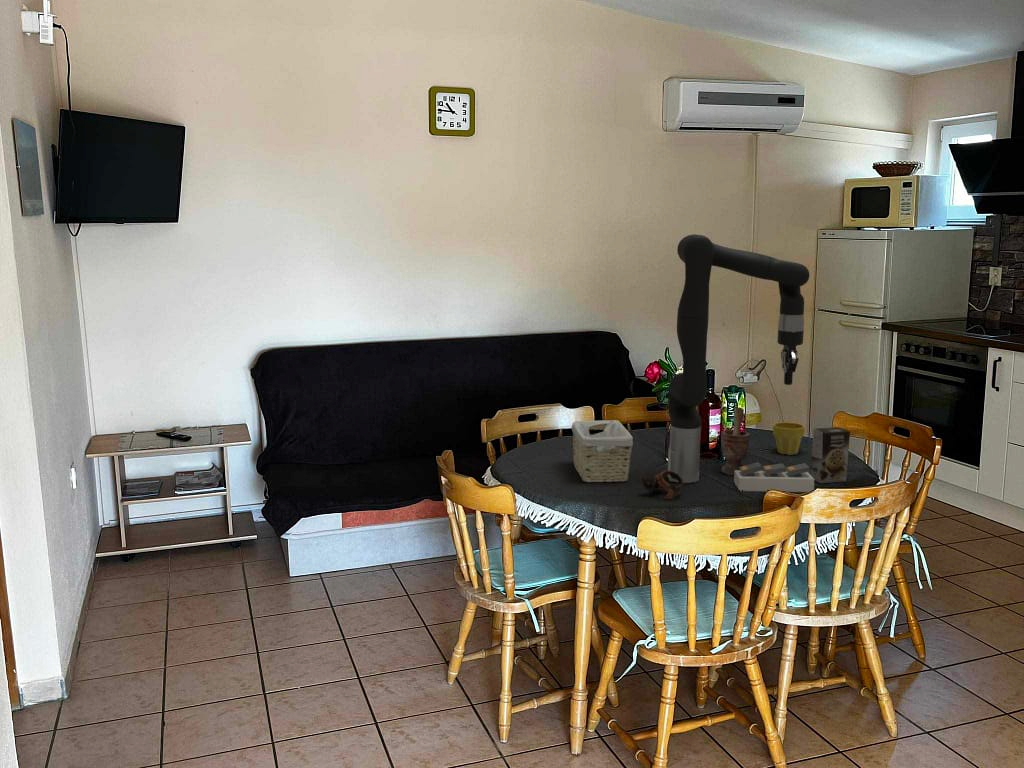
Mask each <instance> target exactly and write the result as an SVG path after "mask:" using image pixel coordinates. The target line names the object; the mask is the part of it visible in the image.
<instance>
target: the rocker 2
mask: <svg viewBox="0 0 1024 768" xmlns="http://www.w3.org/2000/svg"><path fill="white" fill-rule="evenodd" d="M761 466H762V469H763V470H762V471H763V472H764V473H765V474H766V475H769V474H776V473H782V472H786V467H787V466H785V464H783V462H782V463H776V464H769V465H761Z"/></svg>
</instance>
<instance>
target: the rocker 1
mask: <svg viewBox="0 0 1024 768" xmlns="http://www.w3.org/2000/svg"><path fill="white" fill-rule="evenodd" d="M762 466H763V465H762V464H761V463H760V462H759V461H756V462H753V463H752V462H751V463H750V464H746V465H742V467H739V469H740V472H741V473H742V475H743V476H744V475H748V474H751V473H755V472H758V471H763V468H762Z"/></svg>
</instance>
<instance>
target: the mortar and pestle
mask: <svg viewBox="0 0 1024 768" xmlns="http://www.w3.org/2000/svg"><path fill="white" fill-rule="evenodd" d="M734 410H735V411H734V423H733V425H734V427H733V429H725V430H724V429H723V430H722V431H721V444H720V446H721V447H720V448H721V453H722V456H723V457H724V458H725V460H726V463H725V464H723V465H722V467H721V470H720V471H721V472H722V473H723V474H726V475H727V474H729V475H728V476H734V472H735V470H738V471H740V469H739V467H742V466H743V465H742V461H743V460H744V459H745V458H746V457H747V454H748V450H749V443H750V433H749V432H747V431H745V430H741V429H742V428H741V426H742V422H743V419H744V415H745V410H744V407H743V408H742V407H736V408H735V409H734Z"/></svg>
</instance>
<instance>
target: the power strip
mask: <svg viewBox="0 0 1024 768" xmlns="http://www.w3.org/2000/svg"><path fill="white" fill-rule="evenodd" d="M734 483H735V484H734ZM733 484H734V485H735V487H736V486H737V487H736V488H738V489H739V490H740V491H739V490H738V489H737V490H738V491H739V492H768V491H767V490H770V489H776V490H781V491H786V492H785V493H791V492H792V493H811V492H810V491H812V490H814V491H815V480H814V478H813V477H812V476H811V475H810V472H805V473H801V474H797V475H793V476H790V475H789V474H788V473H787V472H782V473H776V474H769V475H766V474H765V473H764V472H763V470H761V471H758V472H755V473H751V474H748V475H744V476H743V475H742V473H741V472H740V471H738V470H735V472H734V475H733ZM742 490H743V491H742Z"/></svg>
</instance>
